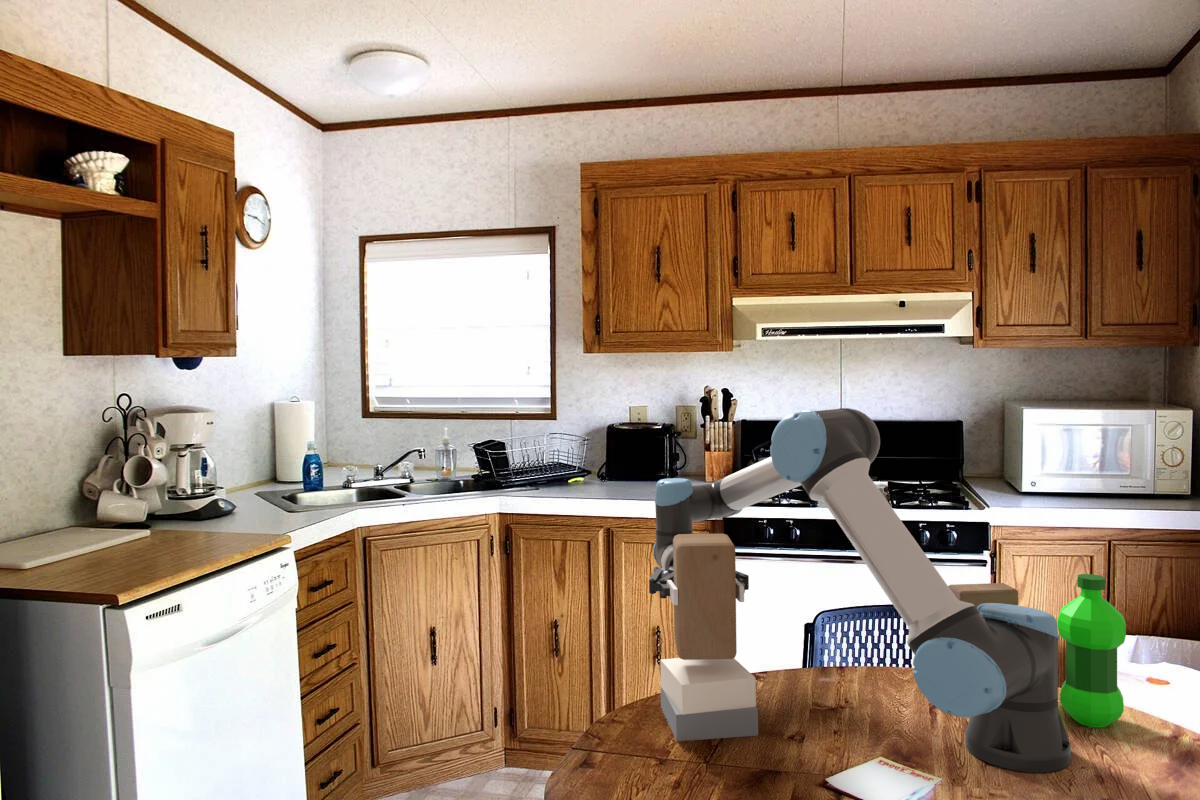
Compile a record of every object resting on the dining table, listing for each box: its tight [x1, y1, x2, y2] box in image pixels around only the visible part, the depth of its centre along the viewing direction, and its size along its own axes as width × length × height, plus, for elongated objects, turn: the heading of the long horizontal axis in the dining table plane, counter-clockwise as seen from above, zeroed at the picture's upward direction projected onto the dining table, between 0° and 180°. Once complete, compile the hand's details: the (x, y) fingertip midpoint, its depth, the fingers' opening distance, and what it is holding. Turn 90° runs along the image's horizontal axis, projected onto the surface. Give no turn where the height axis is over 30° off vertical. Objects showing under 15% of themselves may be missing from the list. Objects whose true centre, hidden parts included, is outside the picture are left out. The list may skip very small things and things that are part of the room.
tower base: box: [660, 687, 759, 742], centre depth 152 cm, size 14×14×5 cm
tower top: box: [660, 657, 757, 715], centre depth 152 cm, size 13×13×5 cm
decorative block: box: [948, 582, 1019, 608], centre depth 162 cm, size 11×6×20 cm, turn 91°
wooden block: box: [673, 533, 737, 660], centre depth 151 cm, size 10×10×20 cm
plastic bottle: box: [1057, 573, 1127, 729], centre depth 148 cm, size 10×10×25 cm
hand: (709, 595), depth 147 cm, fingers closed on wooden block, 11 cm apart
